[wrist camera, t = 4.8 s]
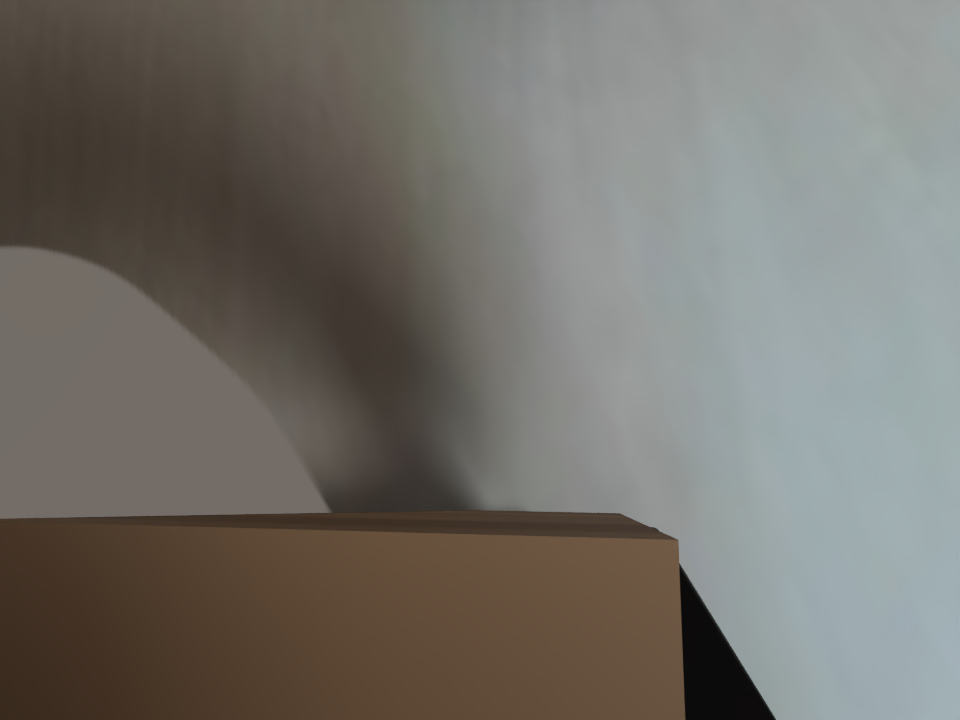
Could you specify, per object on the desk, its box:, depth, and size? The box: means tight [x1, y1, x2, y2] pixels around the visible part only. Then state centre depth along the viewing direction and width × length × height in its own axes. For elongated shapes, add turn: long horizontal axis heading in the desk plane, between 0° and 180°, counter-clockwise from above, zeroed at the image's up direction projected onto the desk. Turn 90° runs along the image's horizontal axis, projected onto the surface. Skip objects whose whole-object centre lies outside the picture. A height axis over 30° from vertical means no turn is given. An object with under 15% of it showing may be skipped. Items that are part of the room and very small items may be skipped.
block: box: [0, 510, 685, 720], centre depth 9 cm, size 4×4×14 cm
